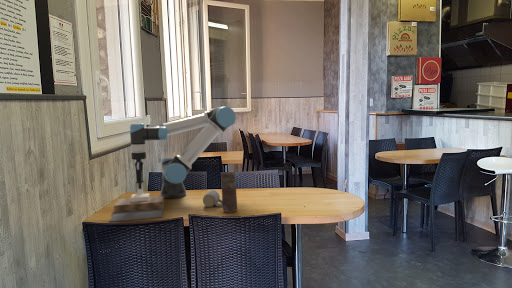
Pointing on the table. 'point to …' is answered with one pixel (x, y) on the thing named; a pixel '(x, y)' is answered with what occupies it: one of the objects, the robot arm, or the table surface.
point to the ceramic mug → (212, 199)
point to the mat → (136, 215)
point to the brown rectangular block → (229, 192)
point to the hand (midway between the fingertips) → (140, 194)
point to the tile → (140, 197)
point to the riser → (139, 204)
